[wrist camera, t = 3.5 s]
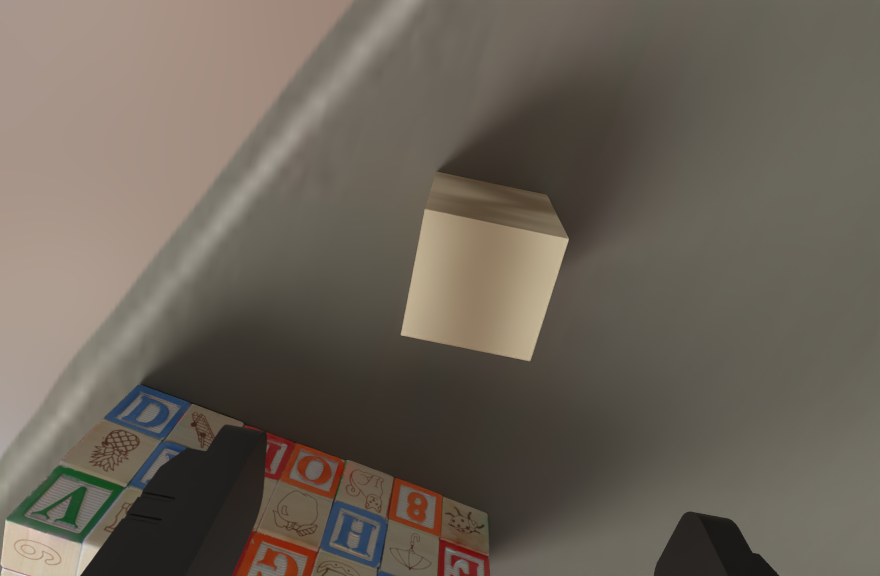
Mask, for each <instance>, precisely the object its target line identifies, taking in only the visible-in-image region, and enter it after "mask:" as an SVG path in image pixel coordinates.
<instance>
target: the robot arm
mask: <svg viewBox="0 0 880 576" xmlns="http://www.w3.org/2000/svg"><path fill="white" fill-rule="evenodd" d="M266 450H267V433H266V432H265V431H260V430H255V429H249V428H244V427H238V426H233V425H228V424H226V425H224V426H223V427H222V428H221V429H220V430H219V432H218V434H217V435H216V437H215V438H214V440H213V441H212V443H211V444H210V446H209V447H208V449H207V450H206V451H202V450H197V449H191V448H186V449H185V450H183V451H182V452H180V453H179V454H178V455H176V456H175V457H173V458H172V459H170V460H169V461H168V462H166V463H165V464H163V465H162V466H160V468H159V469H158V470H157V472H156V473H155V474H154V476H153V477H152V478H151V480H150V481H149V483H148V484H147V485H146V487H145V488H144V489H143V491H142V494H141V496H140V497H137V499H136V500H135V502H134V503H133V504H132V506H131V507H130V508H129V510H128V511H127V512H126V516H125V518H122V519H121V521H120V522H119V523H118V525H117V526H116V527H115V529H114V530H113V532H112V533H111V534H110V536H109V537H108V538H107V540H106V541H105V542H104V544H103V545H102V547H101V548H100V549H99V551H98V552H97V553H96V555H95V556H94V557H93V559H92V560H91V562H90V563H89V564H88V566H87V567H86V568H85V570H84V571H83V572H82V574H81V575H80V576H232V575H233V572H234V570H235V568H236V566H237V563H238V561H239V559H240V557H241V554H242V552H243V550H244V548H245V546H246V543H247V541H248V539H249V537H250V534H251V532H252V530H253V528H254V525H255V523H256V520H257V517H258V514H259V511H260V507H261V503H262V498H263V492H264V479H265V464H266ZM654 576H779V575H778V574H777V573H776V572H775V571H774V570H773V568H772V567H771V566H770V565H769V564H768V563H767V562H766V561H765V560H764V559H763V558H762V557H761V556H760V555H759V554H756V553H752V551H751V549H750V548H749V546H748V544H747V542H746V540H745V539H744V537H743V535H742V533H741V531H740V530H739V528H738V526H737V525H736V524H735V523H734V522H733V521H732V520H730V519H728V518H722V517H717V516H711V515H706V514H701V513H695V512H687V513H685V514H684V515H683V516H682V518H681V519H680V521H679V523H678V525H677V527H676V528H675V530H674V532H673V534H672V536H671V538H670V540H669V542H668V543H667V545H666V547H665V549H664V551H663V553H662V555H661V557H660V558H659V560H658V562H657V565H656V568H655V572H654Z"/></svg>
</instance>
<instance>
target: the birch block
mask: <svg viewBox="0 0 880 576" xmlns="http://www.w3.org/2000/svg"><path fill="white" fill-rule="evenodd" d="M568 241H569V238H568V236H567V234H566V232H565V230H564V228H563V226H562V224H561V222H560V220H559V218H558V216H557V214H556V212H555V210H554V208H553V206H552V204H551V202H550V200H549V198H548V196H547V195H545V194H541V193H536V192H531V191H526V190H522V189H517V188H512V187H507V186H503V185H498V184H493V183H488V182H484V181H479V180H474V179H469V178H465V177H460V176H455V175H451V174H446V173H441V172H436V174H435V178H434V181H433V184H432V188H431V191H430V194H429V198H428V201H427V204H426V208H425V212H424V217H423V222H422V228H421V233H420V238H419V243H418V248H417V254H416V259H415V264H414V269H413V274H412V280H411V285H410V290H409V295H408V301H407V306H406V311H405V316H404V321H403V327H402V332H401V335H403V336H408V337H412V338H417V339H422V340H427V341H432V342H437V343H442V344H447V345H452V346H457V347H462V348H467V349H472V350H477V351H482V352H487V353H492V354H497V355H502V356H507V357H512V358H517V359H522V360H527V361H530V360H531V357H532V354H533V351H534V348H535V344H536V341H537V338H538V335H539V332H540V329H541V326H542V322H543V319H544V316H545V313H546V310H547V307H548V304H549V300H550V297H551V294H552V291H553V288H554V285H555V282H556V278H557V275H558V272H559V269H560V266H561V263H562V260H563V256H564V253H565V250H566V247H567V244H568Z"/></svg>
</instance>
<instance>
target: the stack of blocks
mask: <svg viewBox="0 0 880 576" xmlns="http://www.w3.org/2000/svg"><path fill="white" fill-rule="evenodd" d="M226 424H228V425H233V426H238V427H244V428H249V429H255V430H260V429H257V428H254V427H251V426H246V425H244V423H243V422H241V421H238V420H235V419H233V418H230V417H227V416H224V415H222V414H219V413H216V412H213V411H211V410H208V409H205V408H203V407H200V406H197V405H195V404H190V403H189V402H187V401H184V400H181V399H179V398H176V397H173V396H171V395H168V394H165V393H162V392H159V391H157V390H153V389H151V388H148V387H146V386H143V385H137V386H136V387H135V388H134V389H133V390H132V391H131V392H130V393H129V394H128V395H127V396H126V397H125V398H124V399H123V400H122V401H121V402H120V403H119V404H118V405H117V406H116V407H115V408H114V409H113V410H112V411H110V412H109V413H108V414H107V415H106V416H105V417H104V419H103V420H102V421H100V422H99V423H98V424H97V425H96V426H95V427H94V428H93V429H92V430H91V431H90V432H89V433H88V434H87V435H86V436H85V437H84V438H83V439H82V440H81V441H80V442H79V443H78V444H77V445H76V446H75V447H74V448H73V449H72V450H71V451H70V452H69V453H68V454H67V455H66V456H65V457H64V458H63V459H62V460H61V461H60V464H59V466H57V467H56V468H55V469H54V470H53V471H52V472H51V473H50V474H49V475H48V476H47V477H46V478H45V479H44V480H43V481H42V482H41V483H40V484H39V485H38V486H37V487H36V488H35V489H34V491H33V492H32V493H31V494H30V495H29V496H28V497H27V498H26V499H25V500H24V501H23V502H22V503H21V504H20V505H19V506H18V507H17V508H16V509H15V510H14V511H13V512H12V513H11V514H10V515H9V516H8V517H7V519H6V523H5V531H4V541H3V549H2V557H1V565H2V566H3V568H2V572H1V576H80V575H81V574H82V572H83V571H84V570H85V568H86V567H87V566H88V564H89V563H90V562H91V560H92V559H93V557H94V556H95V555H96V553H97V552H98V551H99V549H100V548H101V547H102V545H103V544H104V542H105V541H106V540H107V538H108V537H109V536H110V534H111V533H112V532H113V530H114V529H115V527H116V526H117V525H118V523H119V522H120V521H121V519H122V518H125V516H126V512H127V511H128V510H129V508H130V507H131V506H132V504H133V503H134V502H135V500H136V499H137V497H140V496H141V494H142V491H143V489H144V488H145V487H146V485H147V484H148V483H149V481H150V480H151V478H152V477H153V476H154V474H155V473H156V472H157V470H158V469H159V468H160V466H162V465H163V464H165V463H166V462H168V461H169V460H170V459H172V458H173V457H175V456H176V455H178V454H179V453H180V452H182V451H183V450H185V449H186V448H191V449H197V450H202V451H206V450H207V449H208V447H209V446H210V444H211V443H212V441H213V440H214V438H215V437H216V435H217V434H218V432H219V430H220V429H221V428H222V427H223V426H224V425H226ZM260 431H262V430H260ZM266 433H267V450H266V464H265V479H264V492H263V498H262V503H261V507H260V511H259V514H258V517H257V520H256V523H255V525H254V528H253V530H252V532H251V534H250V537H249V539H248V541H247V543H246V546H245V548H244V550H243V552H242V554H241V557H240V559H239V561H238V563H237V566H236V568H235V570H234V572H233V575H232V576H490V568H489V559H488V556H489V531H488V515H487V513H485V512H482V511H480V510H477V509H474V508H472V507H469V506H467V505H464V504H461V503H459V502H456V501H453V500H451V499H448V498H446V497H443V496H442V495H440V494H438V493H435V492H433V491H430V490H427V489H425V488H422V487H419V486H417V485H414V484H411V483H409V482H406V481H403V480H401V479H398V478H394V477H392V476H390V475H388V474H385V473H383V472H380V471H377V470H375V469H372V468H369V467H367V466H364V465H361V464H358V463H356V462H353V461H350V460H343V459H340V458H338V457H336V456H332V455H329V454H326V453H323V452H321V451H318V450H315V449H313V448H310V447H307V446H304V445H302V444H299V443H294V442H292V441H289V440H286V439H284V438H281V437H279V436H276V435H273V434H271V433H268V432H266Z"/></svg>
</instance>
